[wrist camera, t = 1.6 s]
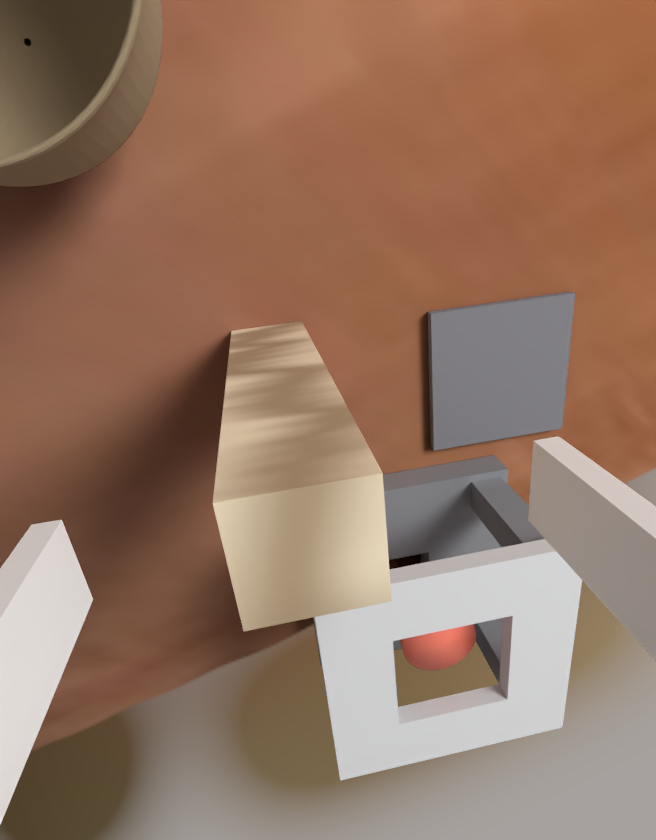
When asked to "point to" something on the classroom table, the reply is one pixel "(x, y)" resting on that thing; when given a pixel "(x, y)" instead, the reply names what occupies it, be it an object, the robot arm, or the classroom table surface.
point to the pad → (498, 369)
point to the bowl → (72, 83)
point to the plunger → (439, 647)
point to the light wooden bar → (295, 486)
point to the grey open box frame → (453, 622)
